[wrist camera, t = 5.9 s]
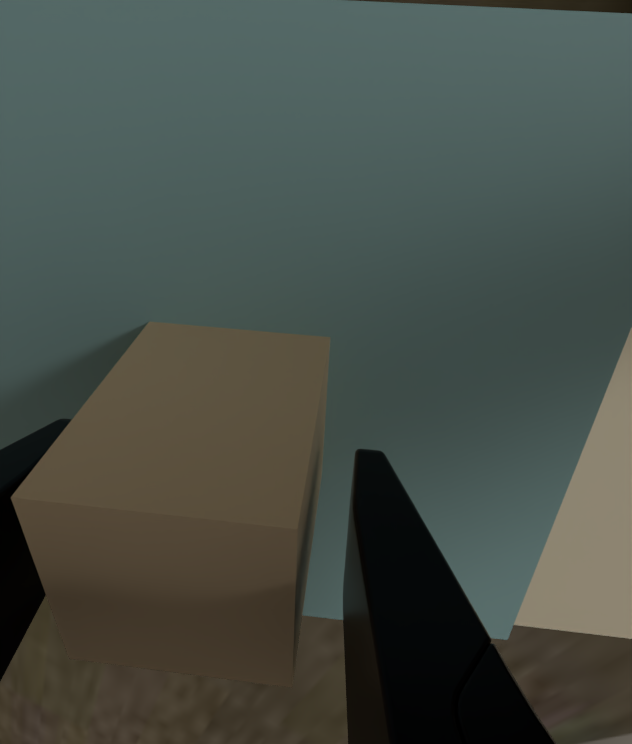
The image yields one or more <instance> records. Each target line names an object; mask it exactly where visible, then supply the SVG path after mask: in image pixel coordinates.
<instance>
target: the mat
mask: <svg viewBox="0 0 632 744" xmlns="http://www.w3.org/2000/svg"><path fill="white" fill-rule="evenodd" d="M514 625H520V626H529V627H537V628H546V629H554V630H562V631H571V632H579V633H588V634H596V635H604V636H613V637H621V638H630V639H632V327H631V330H630V332H629V335H628V337H627V340H626V342H625V345H624V347H623V350H622V353H621V355H620V358H619V360H618V363H617V365H616V368H615V370H614V373H613V375H612V378H611V380H610V383H609V385H608V388H607V390H606V393H605V395H604V398H603V400H602V403H601V405H600V408H599V411H598V413H597V416H596V418H595V421H594V423H593V426H592V428H591V431H590V433H589V436H588V438H587V441H586V443H585V446H584V448H583V451H582V453H581V456H580V458H579V461H578V463H577V466H576V468H575V471H574V474H573V476H572V479H571V481H570V484H569V486H568V489H567V491H566V494H565V496H564V499H563V501H562V504H561V506H560V509H559V511H558V514H557V516H556V519H555V521H554V524H553V526H552V529H551V531H550V534H549V537H548V539H547V542H546V544H545V547H544V549H543V552H542V554H541V557H540V559H539V562H538V564H537V567H536V569H535V572H534V574H533V577H532V579H531V582H530V584H529V587H528V589H527V592H526V595H525V597H524V600H523V602H522V605H521V607H520V610H519V612H518V615H517V617H516V620H515V622H514Z"/></svg>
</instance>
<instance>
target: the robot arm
mask: <svg viewBox="0 0 632 744" xmlns="http://www.w3.org/2000/svg"><path fill="white" fill-rule="evenodd" d="M71 420H72V419H58V420H56V421H54V422H52V423H50V424H48V425H47V426H45V427H43V428H41V429H39V430H37V431H35V432H33V433H31V434H29V435H27V436H25V437H24V438H22V439H20V440H18V441H16V442H14V443H12V444H10V445H8V446H6V447H4V448H2V449H0V681H1V679H2V677H3V675H4V673H5V671H6V669H7V667H8V666H9V664H10V662H11V660H12V658H13V656H14V654H15V652H16V650H17V648H18V647H19V645H20V643H21V641H22V639H23V637H24V635H25V633H26V631H27V629H28V628H29V626H30V624H31V622H32V620H33V618H34V616H35V614H36V612H37V610H38V609H39V607H40V605H41V603H42V601H43V599H44V597H45V595H46V594H45V591H44V588H43V585H42V583H41V580H40V577H39V574H38V572H37V569H36V566H35V563H34V561H33V558H32V555H31V552H30V550H29V547H28V544H27V541H26V539H25V536H24V533H23V530H22V527H21V525H20V522H19V519H18V516H17V514H16V511H15V508H14V505H13V503H12V500H11V496H12V495H13V494H14V492H15V491H16V490H17V489H18V487H19V486H20V485H21V484H22V482H23V481H24V480H25V479H26V477H27V476H28V475H29V473H30V472H31V471H32V470H33V468H34V467H35V466H36V465H37V463H38V462H39V461H40V460H41V458H42V457H43V456H44V454H45V453H46V452H47V451H48V449H49V448H50V447H51V446H52V444H53V443H54V442H55V441H56V439H57V438H58V437H59V435H60V434H61V433H62V432H63V430H64V429H65V428H66V427H67V425H68V424H69V423H70V422H71ZM343 626H344V650H345V674H346V698H347V722H348V744H556V742H555V741H554V739H553V738H552V736H551V735H550V733H549V732H548V731H547V729H546V728H545V726H544V725H543V723H542V722H541V720H540V719H539V717H538V716H537V714H536V712H535V711H534V709H533V707H532V706H531V704H530V703H529V701H528V699H527V698H526V696H525V694H524V693H523V691H522V690H521V688H520V686H519V685H518V683H517V681H516V680H515V678H514V677H513V675H512V673H511V671H510V670H509V668H508V666H507V664H506V663H505V661H504V659H503V657H502V656H501V654H500V652H499V651H498V649H497V647H496V645H494V644H490V643H491V637H490V635H489V634H488V632H487V630H486V629H485V627H484V625H483V623H482V622H481V620H480V618H479V616H478V615H477V613H476V611H475V609H474V608H473V606H472V604H471V603H470V601H469V599H468V597H467V596H466V594H465V592H464V590H463V589H462V587H461V585H460V583H459V582H458V580H457V578H456V577H455V575H454V573H453V571H452V570H451V568H450V566H449V564H448V563H447V561H446V559H445V557H444V556H443V554H442V552H441V551H440V549H439V547H438V545H437V544H436V542H435V540H434V538H433V537H432V535H431V533H430V531H429V530H428V528H427V526H426V525H425V523H424V521H423V519H422V518H421V516H420V514H419V512H418V511H417V509H416V507H415V505H414V504H413V502H412V500H411V499H410V497H409V495H408V493H407V492H406V490H405V488H404V486H403V485H402V483H401V481H400V479H399V478H398V476H397V474H396V473H395V471H394V469H393V467H392V466H391V464H390V462H389V460H388V459H387V457H386V455H385V454H384V453H383V452H382V451H380V450H371V449H361V448H360V449H357V450H356V451H355V457H354V466H353V476H352V485H351V496H350V507H349V519H348V532H347V544H346V556H345V568H344V581H343Z"/></svg>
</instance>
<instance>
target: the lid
mask: <svg viewBox="0 0 632 744" xmlns="http://www.w3.org/2000/svg"><path fill="white" fill-rule="evenodd" d="M631 327H632V14H630V13H608V12H587V11H565V10H543V9H521V8H499V7H477V6H455V5H433V4H412V3H390V2H368V1H346V0H0V449H2V448H4V447H6V446H8V445H10V444H12V443H14V442H16V441H18V440H20V439H22V438H24V437H25V436H27V435H29V434H31V433H33V432H35V431H37V430H39V429H41V428H43V427H45V426H47V425H48V424H50V423H52V422H54V421H56V420H58V419H72V420H71V422H70V423H69V424H68V425H67V427H66V428H65V429H64V430H63V432H62V433H61V434H60V435H59V437H58V438H57V439H56V441H55V442H54V443H53V444H52V446H51V447H50V448H49V449H48V451H47V452H46V453H45V454H44V456H43V457H42V458H41V460H40V461H39V462H38V463H37V465H36V466H35V467H34V468H33V470H32V471H31V472H30V473H29V475H28V476H27V477H26V479H25V480H24V481H23V482H22V484H21V485H20V486H19V487H18V489H17V490H16V491H15V492H14V494H13V495H12V496H11V500H12V503H13V505H14V508H15V511H16V514H17V516H18V519H19V522H20V525H21V527H22V530H23V533H24V536H25V539H26V541H27V544H28V547H29V550H30V552H31V555H32V558H33V561H34V563H35V566H36V569H37V572H38V574H39V577H40V580H41V583H42V585H43V588H44V591H45V594H46V597H47V599H48V602H49V605H50V608H51V610H52V613H53V616H54V619H55V621H56V624H57V627H58V630H59V632H60V635H61V638H62V641H63V643H64V646H65V649H66V652H67V655H68V657H69V659H73V660H80V661H88V662H96V663H104V664H111V665H119V666H127V667H134V668H142V669H150V670H157V671H165V672H173V673H181V674H188V675H196V676H204V677H211V678H219V679H227V680H234V681H242V682H250V683H258V684H265V685H273V686H281V687H288V688H292V686H293V679H294V672H295V665H296V657H297V650H298V643H299V636H300V628H301V621H302V615H305V616H314V617H322V618H330V619H338V620H343V581H344V568H345V556H346V544H347V532H348V519H349V507H350V496H351V485H352V476H353V466H354V457H355V451H356V450H357V449H360V448H361V449H371V450H380V451H382V452H383V453H384V454H385V455H386V457H387V459H388V460H389V462H390V464H391V466H392V467H393V469H394V471H395V473H396V474H397V476H398V478H399V479H400V481H401V483H402V485H403V486H404V488H405V490H406V492H407V493H408V495H409V497H410V499H411V500H412V502H413V504H414V505H415V507H416V509H417V511H418V512H419V514H420V516H421V518H422V519H423V521H424V523H425V525H426V526H427V528H428V530H429V531H430V533H431V535H432V537H433V538H434V540H435V542H436V544H437V545H438V547H439V549H440V551H441V552H442V554H443V556H444V557H445V559H446V561H447V563H448V564H449V566H450V568H451V570H452V571H453V573H454V575H455V577H456V578H457V580H458V582H459V583H460V585H461V587H462V589H463V590H464V592H465V594H466V596H467V597H468V599H469V601H470V603H471V604H472V606H473V608H474V609H475V611H476V613H477V615H478V616H479V618H480V620H481V622H482V623H483V625H484V627H485V629H486V630H487V632H488V634H489V635H490V637H491V638H496V639H504V640H508V637H509V635H510V632H511V630H512V627H513V625H514V622H515V620H516V617H517V615H518V612H519V610H520V607H521V605H522V602H523V600H524V597H525V595H526V592H527V589H528V587H529V584H530V582H531V579H532V577H533V574H534V572H535V569H536V567H537V564H538V562H539V559H540V557H541V554H542V552H543V549H544V547H545V544H546V542H547V539H548V537H549V534H550V531H551V529H552V526H553V524H554V521H555V519H556V516H557V514H558V511H559V509H560V506H561V504H562V501H563V499H564V496H565V494H566V491H567V489H568V486H569V484H570V481H571V479H572V476H573V474H574V471H575V468H576V466H577V463H578V461H579V458H580V456H581V453H582V451H583V448H584V446H585V443H586V441H587V438H588V436H589V433H590V431H591V428H592V426H593V423H594V421H595V418H596V416H597V413H598V411H599V408H600V405H601V403H602V400H603V398H604V395H605V393H606V390H607V388H608V385H609V383H610V380H611V378H612V375H613V373H614V370H615V368H616V365H617V363H618V360H619V358H620V355H621V353H622V350H623V347H624V345H625V342H626V340H627V337H628V335H629V332H630V330H631Z"/></svg>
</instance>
